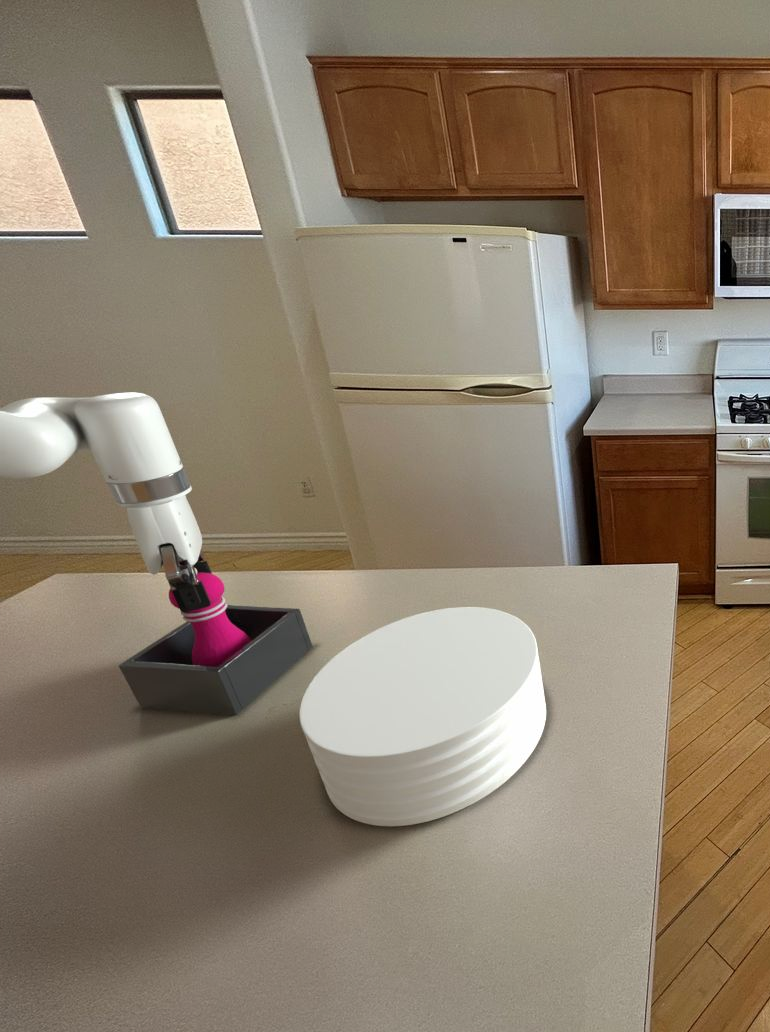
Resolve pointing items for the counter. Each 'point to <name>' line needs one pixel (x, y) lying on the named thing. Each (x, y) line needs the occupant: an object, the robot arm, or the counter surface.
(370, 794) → the plate stack
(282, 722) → the counter surface
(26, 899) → the counter surface
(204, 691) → the open box
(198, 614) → the pepper mill
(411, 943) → the counter surface
